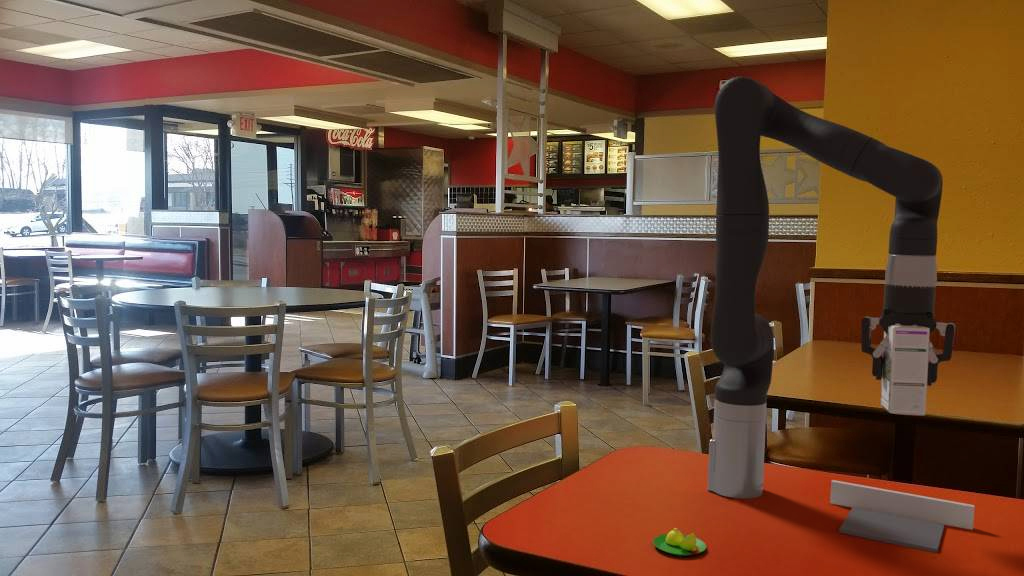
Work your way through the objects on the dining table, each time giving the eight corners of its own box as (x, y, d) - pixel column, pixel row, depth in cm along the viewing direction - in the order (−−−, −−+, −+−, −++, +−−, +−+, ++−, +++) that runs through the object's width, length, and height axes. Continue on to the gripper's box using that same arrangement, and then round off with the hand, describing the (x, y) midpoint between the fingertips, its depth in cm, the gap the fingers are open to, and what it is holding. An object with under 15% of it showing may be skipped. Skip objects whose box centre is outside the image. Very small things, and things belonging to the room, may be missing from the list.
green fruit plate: (715, 547, 122) (715, 529, 122) (690, 563, 116) (690, 544, 116) (669, 533, 128) (669, 516, 127) (642, 548, 122) (643, 530, 121)
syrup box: (926, 416, 129) (932, 327, 127) (887, 413, 130) (893, 325, 128) (915, 408, 134) (921, 322, 133) (878, 405, 135) (883, 321, 134)
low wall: (830, 503, 141) (831, 481, 141) (831, 501, 142) (832, 479, 142) (972, 530, 130) (974, 507, 129) (972, 529, 130) (974, 505, 130)
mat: (839, 532, 128) (839, 528, 128) (852, 510, 138) (852, 507, 138) (937, 553, 120) (937, 549, 120) (944, 528, 130) (944, 524, 130)
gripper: (859, 281, 131) (853, 380, 132) (959, 286, 123) (952, 392, 125) (866, 279, 137) (860, 373, 138) (961, 284, 130) (954, 384, 131)
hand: (903, 382), depth 131 cm, fingers closed on syrup box, 7 cm apart
